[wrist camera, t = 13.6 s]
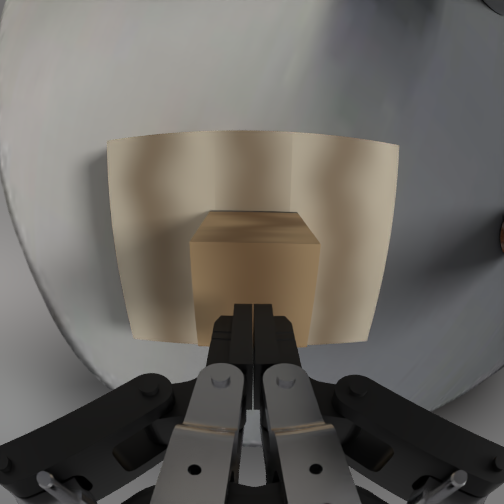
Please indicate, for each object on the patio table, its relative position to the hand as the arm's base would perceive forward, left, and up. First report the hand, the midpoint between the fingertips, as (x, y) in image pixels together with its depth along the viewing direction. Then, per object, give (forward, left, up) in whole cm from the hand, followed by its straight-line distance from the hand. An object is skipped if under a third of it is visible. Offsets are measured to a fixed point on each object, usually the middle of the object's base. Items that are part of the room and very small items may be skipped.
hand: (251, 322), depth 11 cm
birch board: (0, 0, -12) cm, 12 cm away
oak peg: (0, 0, -11) cm, 11 cm away
